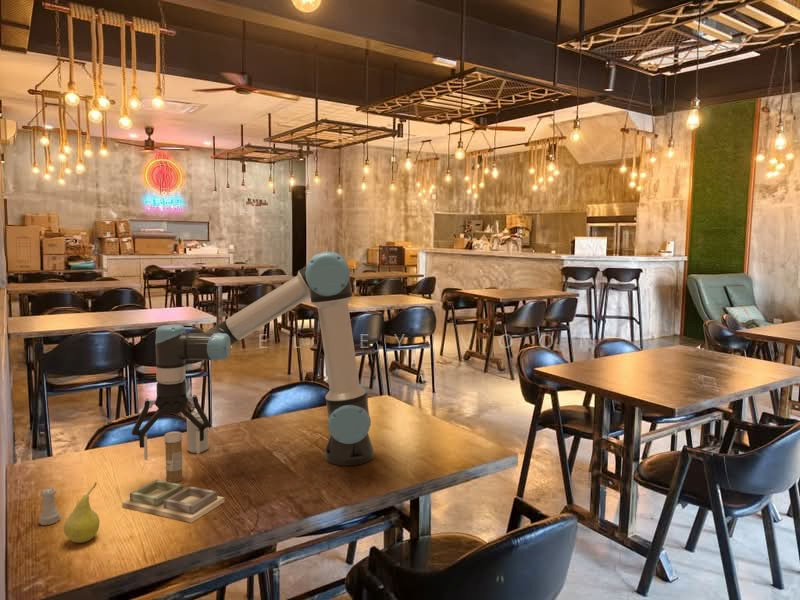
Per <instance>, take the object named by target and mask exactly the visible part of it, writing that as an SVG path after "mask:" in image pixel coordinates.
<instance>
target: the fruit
mask: <svg viewBox="0 0 800 600" xmlns="http://www.w3.org/2000/svg"><path fill="white" fill-rule="evenodd" d="M97 484H98V483H97V481H95V482H94V484H93V486H92V487H91V488H90V490H89V491H88V492H87V493H86V494H84V495H83V496H82V497H81V498H80V500H79V501H78V502H77V504H76V506H75V507H74V509H73V510H72V511H71V513H70V514H69V516H68V517H67V519H66V520H65V522H64V524H63V532H64V535H65V536H66V537H67V538H68V539H69V540H70V541H71V542H73V543H76V544H83V543H86V542H88V541H90V540H91V539H94V537H95V536H96V535H97V534H98V531H99V529H100V517H99V515H98V514H97V512H95V511H93V510H92V507H91V504H90V500H89V499H90V494H91V493H92V491H93V490H94V489H95V488H96V486H97Z"/></svg>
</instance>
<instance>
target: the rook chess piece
mask: <svg viewBox="0 0 800 600" xmlns="http://www.w3.org/2000/svg"><path fill="white" fill-rule="evenodd" d="M56 493H57V490H55V488H54V486H53V487H51V486H49V487H48V488H47V487H44V488H43V489H42V490H41V493H40V494H39V495H40V497H41V498H42V499H41V502H42V507H41V509H42V510H41V512H40V514H39V516H38V519H39V520H38V524H40V525H41V526H51V525H53V524H56V523H58V522H59V521H60V519H61V513H60V511H59V510H58V508H57V507H56V503H55V501H56V497H55V494H56Z"/></svg>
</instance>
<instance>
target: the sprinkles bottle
mask: <svg viewBox="0 0 800 600" xmlns="http://www.w3.org/2000/svg"><path fill="white" fill-rule="evenodd" d="M182 440H183V434H182V432H181V431H169V432H166V433H165V434H164V444H165V445H164V446H165V473H166V474H165V476H166V477H165V481H166V482H171V483H177V482H181V481H182V480H183V478H184V475H183V449H182V448H183V447H182V446H183V445H182Z"/></svg>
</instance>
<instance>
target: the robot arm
mask: <svg viewBox="0 0 800 600" xmlns="http://www.w3.org/2000/svg"><path fill="white" fill-rule="evenodd" d="M350 273H351V271H350V266H349V264H348V262H347V260H346V259H345V258H344V257H343V255H341V254H340V253H338V252H335V251H330V250H329V251H322V252H318V253H317V254H316V253H315V254H314V255H313V256H312V257H311V259H310V260H309V261H308V262H307V264H306V265H305V266H303V268H301V269H299V270H298V271H297V275H296V276H294V277H293V278H291V279H290V280H288V281H286V282H284V283H283V284H281V285H280V286H278V287H277V288H275V289H273V290H271V291H270V292H269V293H266V294H265V295H264V296H262V297H261V298H259V299H257V300H255V301H254V302H252V303H250V304H248V306H246V307H244V308H243V309H240V310H239V311H238V312H236V313H234V314H233V315H231V316H230V317H228V318H227V319H225V320H223V321H221V322H220V323H218V324H215V325H214V326H213V327H211V328H210V329H208V330H207V331H205V332H193V333H192V332H186V329H185V326H183V325H181V324H166V325H161V326H158V327H157V328H156V331H155V363H156V365H155V371H156V372H155V374H156V375H155V376H156V377H155V378H156V381H157V383H156V399H149V398H146V399H144V405H143V408H142V410H141V412H140V414H139V416H138V418H137V420H136V422H135V423H134V426H133V427H132V431H131V435H132V436H136V437H137V436H138V438H139V441H138V442H139V448H142V449H143V451H144V454H143V455H144V461H147V460H149V459H148V457H149V456H148V431H149V430H150V429H151V428H152V427H153V426H154V424H155V423H157V421H158V419H160V418H161V417H162V416H163V415H165V416H170V415H178V414H180V413H182V415H184V417H186V419H187V418H188V419H189V420H190V421H191V422H192V423H193V424H194V425H195V426H196V427H197V429H196V451H197V453H196V454H197V455H199V454H200V441H203V440H204V429H205V428H207V427H208V428H210V427H211V423H210V421H209V419H207V417H208V416H207V414H206V415H205V413H206V412H204V410H203V408H202V406H201V404H200V403H199V399H198V395H197V394H194V395H192V396H189V397H188V396H187V392H186V391H187V390H186V389H187V387H186V386H187V383H186V379H187V378H186V371H187V370H186V361H215V362H217V361H225V360H227V359H229V357H230V354H231V350H232V349H231V347H232V346H233V345H235V344H236V343H239V341H241V340H242V339H245V338H246V337H248V336H249V335H251V334H253V333H254V332H256V331H258V330H260V329H261V328H262V327H265V325H268V323H270V322H272V321H274V320H276V319H277V318H279V317H280V316H282V315H284V314H285V313H287V312H289V311H291V310H292V309H293V308H295V307H297V306H298V305H300V304H301V303H303V302H304V301H307V300H308V299H310V301H311V302H310V303H311V304H312V305H313V306H315V307H316V308H317V312H318V320H319V325H320V326H319V327H320V333H321V340H322V347H323V352H324V360H325V368H326V374H327V381H328V387H329V391H328V392H327V394H326V395H325V402H326V403H325V404H326V410H327V415H328V416H327V417H328V420H327V421H328V422H327V429H328V431H329V433H330V434H329V438H328V441H327V443H326V447H325V449H324V456H325V457H324V459H325V461H326V462H327V463H329V464H332V465H337V466H343V467H345V466H347V467H348V466H350V467H351V465H352V466H359V465H358V464H360V465H363V463H364V464H367V463H369V462H370V461H372V460H373V459H372V458H374V447H373V444H372V441H371V439H370V435H369V431H370V427H371V424H372V423H371V421H372V420H371V417H370V411H369V391H368V386H367V385H365V384H360V379H359V372H358V365H357V358H356V350H355V343H354V337H353V331H352V330H353V329H352V324H351V315H350V309H349V302H350V301H351V300H352V298H353V292H352V284H351V277H350V276H351V274H350ZM188 402H189V403H190V404H191V405H194V408H195V409H196V412H198V413H199V415H200V417H201V418H202V420H203V422H204V423H203V424H202V423H201V422H200V421H199V420H198V419H197V418H195V417H194V416H193V415H192V414H191V413H192V412H191V411H190V410H188V408H187V407H186V406H187V403H188ZM154 405H155V406H156V408H157V409H156V411H155V413H154V414H153V415H152V416H150V418H149V420H147V422H146V423H145V424H144V426H143V427H141V425H142V424H143V422H144V420H145V418H146V417H147V414H148V413H149V410H150V409H152V408H153V406H154ZM206 416H207V417H206ZM371 459H372V460H371ZM368 461H369V462H368ZM366 462H367V463H366Z"/></svg>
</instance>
